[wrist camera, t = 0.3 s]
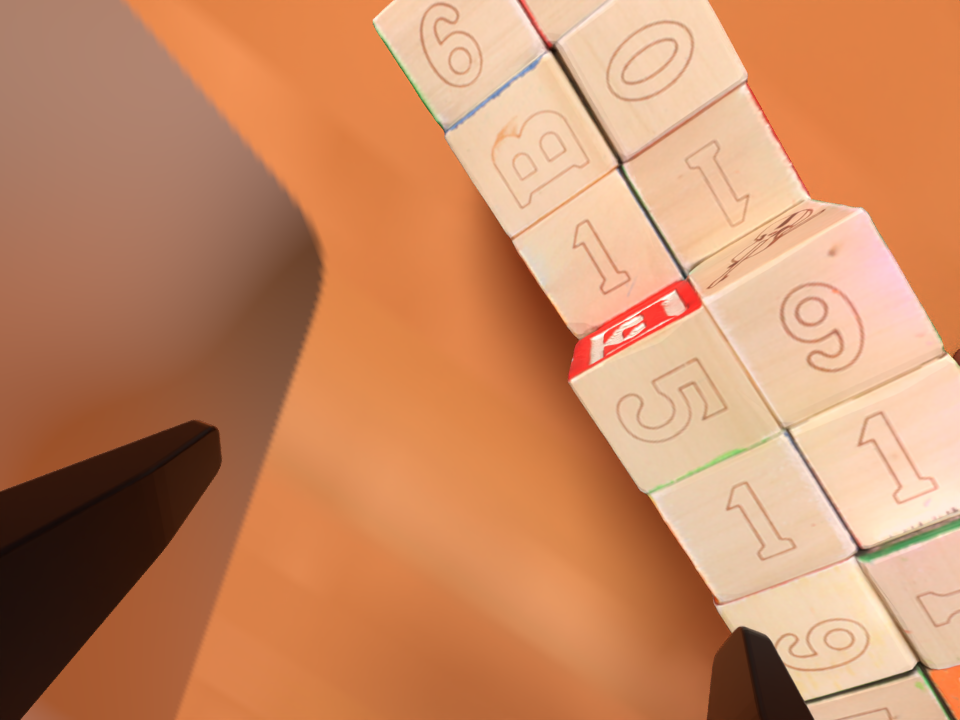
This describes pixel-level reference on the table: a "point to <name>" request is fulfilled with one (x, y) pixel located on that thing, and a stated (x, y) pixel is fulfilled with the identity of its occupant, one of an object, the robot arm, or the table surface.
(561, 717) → the table surface
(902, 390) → the stack of blocks
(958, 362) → the wooden figurine
